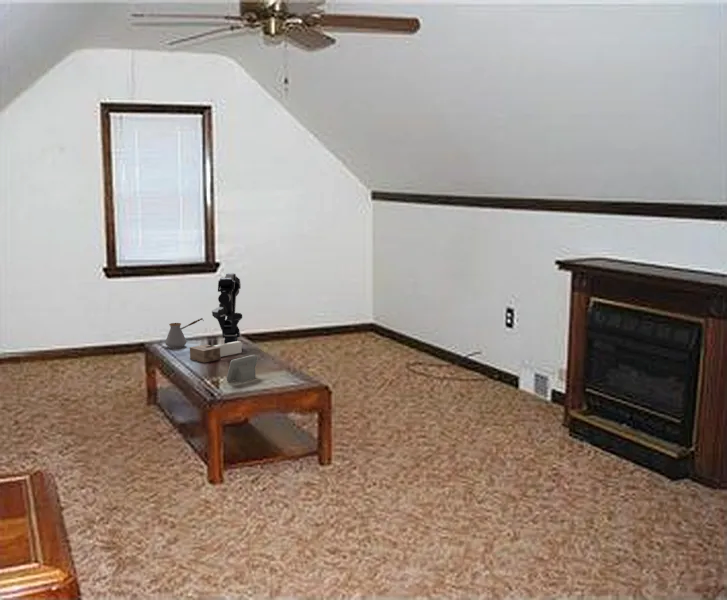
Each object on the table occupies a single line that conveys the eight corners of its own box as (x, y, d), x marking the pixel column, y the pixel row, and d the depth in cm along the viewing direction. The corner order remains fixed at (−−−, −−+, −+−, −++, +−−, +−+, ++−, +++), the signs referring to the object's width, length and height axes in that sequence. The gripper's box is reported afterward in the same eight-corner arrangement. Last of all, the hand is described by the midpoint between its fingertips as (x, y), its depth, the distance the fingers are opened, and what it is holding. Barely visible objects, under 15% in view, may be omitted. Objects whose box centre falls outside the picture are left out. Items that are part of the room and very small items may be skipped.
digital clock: (252, 374, 374) (252, 352, 372) (263, 378, 367) (262, 355, 365) (222, 380, 364) (221, 357, 362) (232, 384, 357) (232, 361, 355)
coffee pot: (167, 349, 427) (166, 322, 425) (163, 345, 438) (162, 319, 435) (206, 346, 436) (205, 319, 433) (202, 342, 446) (201, 316, 444)
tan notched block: (206, 355, 413) (206, 344, 412) (220, 359, 405) (219, 347, 404) (190, 358, 406) (189, 347, 405) (204, 362, 398) (203, 350, 397)
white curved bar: (238, 351, 423) (237, 340, 422) (241, 352, 421) (241, 341, 420) (207, 358, 409) (207, 346, 408) (211, 358, 407) (210, 347, 406)
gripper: (203, 301, 416) (204, 330, 418) (225, 305, 403) (226, 335, 405) (220, 299, 424) (221, 327, 426) (242, 302, 411) (243, 332, 413)
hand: (227, 330), depth 417 cm, fingers open, 9 cm apart
